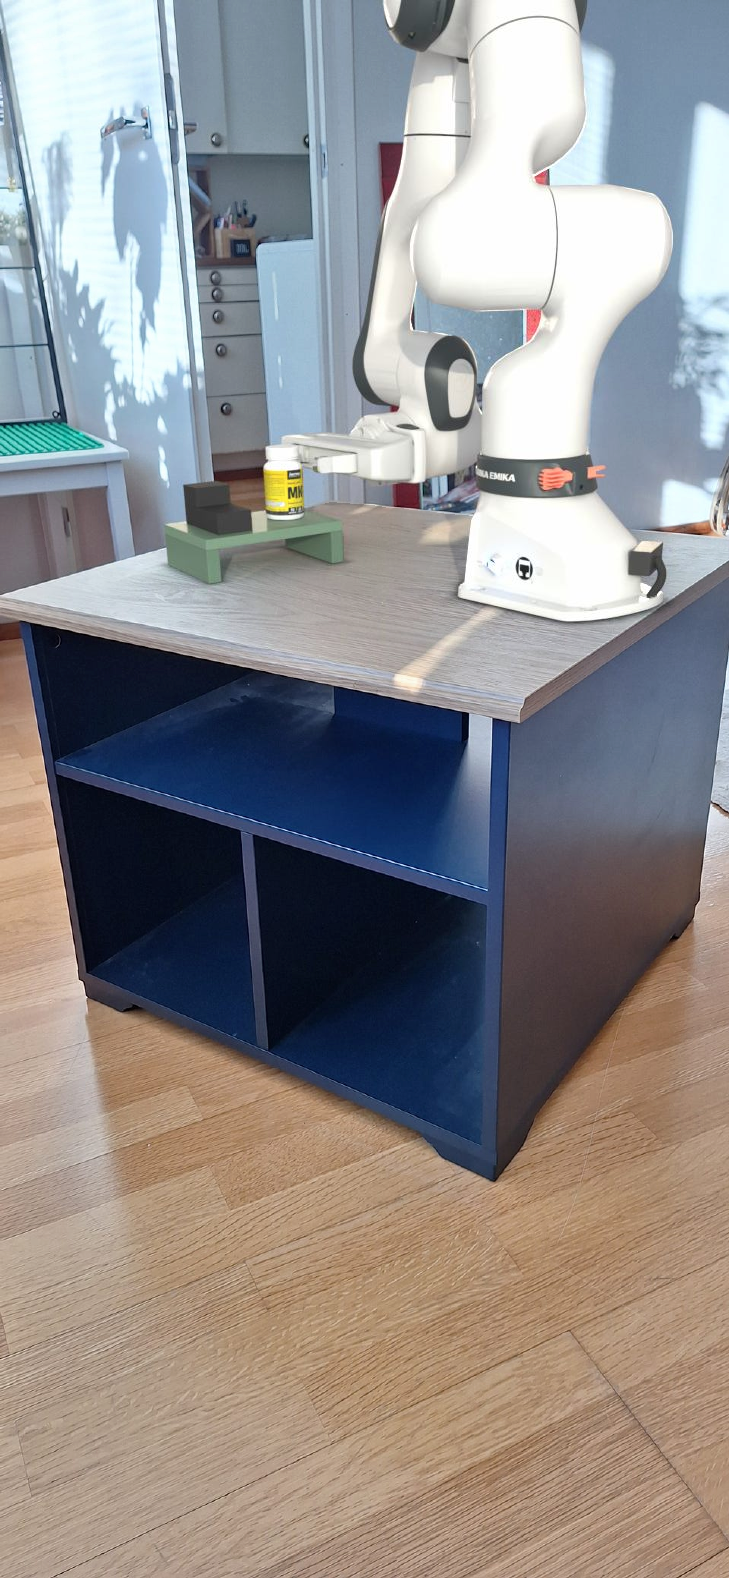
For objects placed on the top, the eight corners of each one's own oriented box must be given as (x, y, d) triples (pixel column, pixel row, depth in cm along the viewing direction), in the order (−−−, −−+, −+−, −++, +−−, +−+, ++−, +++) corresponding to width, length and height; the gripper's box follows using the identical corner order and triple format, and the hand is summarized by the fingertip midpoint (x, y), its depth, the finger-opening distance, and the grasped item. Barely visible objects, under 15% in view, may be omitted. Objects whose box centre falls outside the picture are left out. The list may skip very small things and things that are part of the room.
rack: (343, 561, 136) (342, 520, 134) (209, 583, 127) (205, 540, 125) (295, 545, 145) (294, 506, 143) (167, 565, 137) (163, 524, 135)
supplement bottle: (292, 522, 134) (289, 449, 130) (258, 519, 136) (254, 448, 132) (311, 514, 138) (308, 444, 134) (278, 512, 140) (274, 443, 136)
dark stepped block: (252, 530, 130) (250, 490, 128) (218, 535, 128) (215, 494, 126) (219, 519, 137) (216, 480, 135) (186, 523, 135) (182, 484, 133)
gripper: (332, 418, 149) (244, 428, 141) (434, 430, 134) (342, 441, 126) (333, 467, 151) (248, 479, 143) (434, 484, 136) (344, 498, 129)
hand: (293, 461), depth 135 cm, fingers open, 8 cm apart
